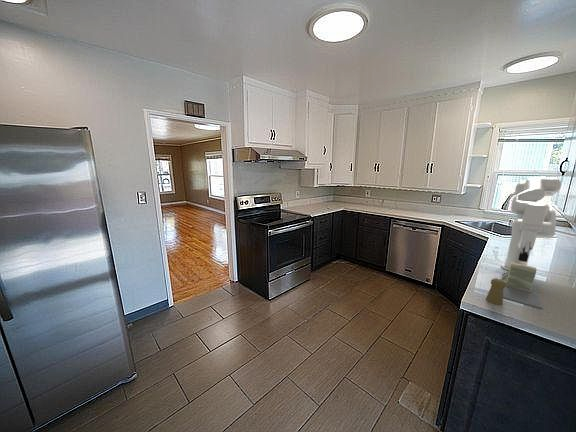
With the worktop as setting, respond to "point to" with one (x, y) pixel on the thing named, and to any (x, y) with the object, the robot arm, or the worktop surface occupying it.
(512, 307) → the worktop surface
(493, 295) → the cork
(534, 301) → the rubber mat
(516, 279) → the maple plaque
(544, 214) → the robot arm
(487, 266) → the worktop surface
